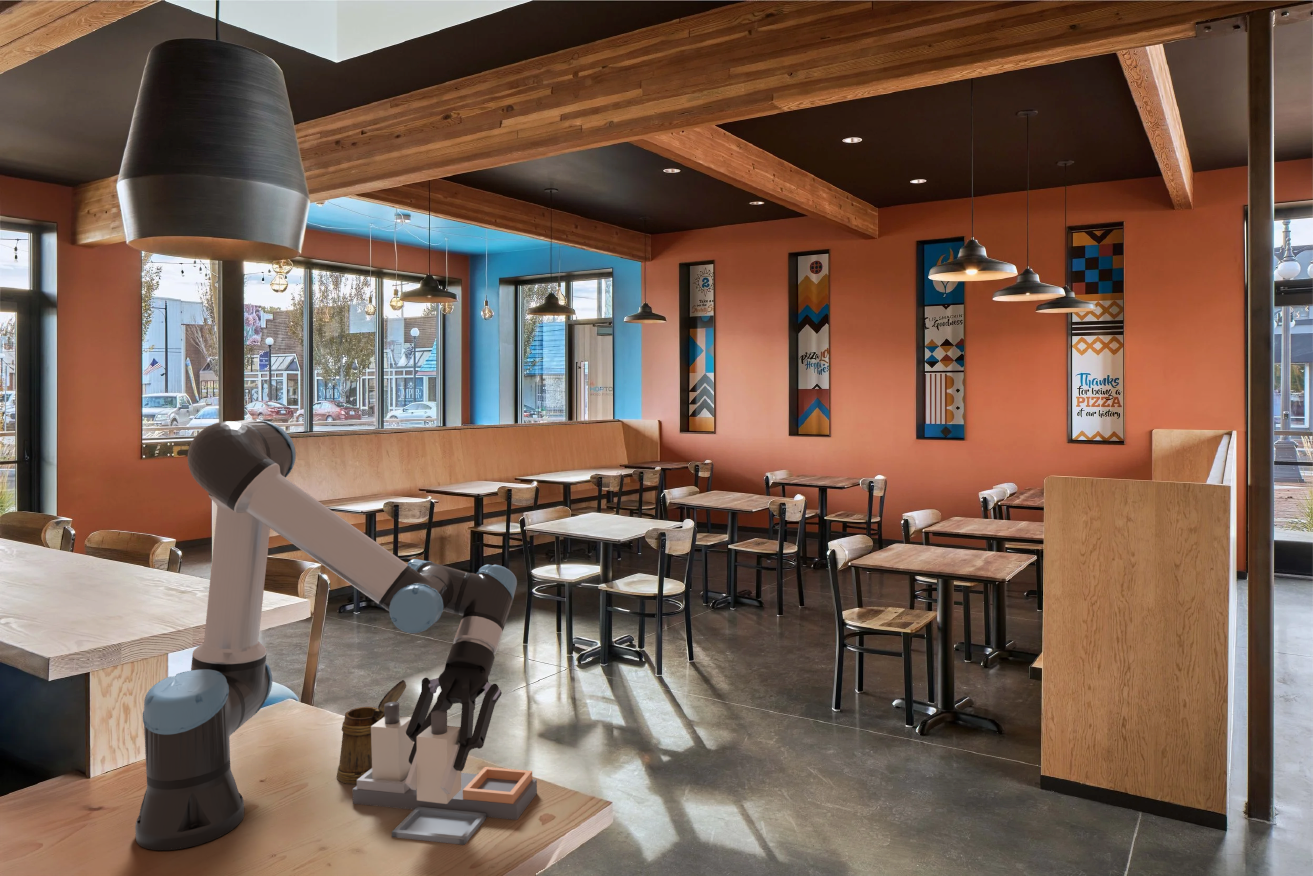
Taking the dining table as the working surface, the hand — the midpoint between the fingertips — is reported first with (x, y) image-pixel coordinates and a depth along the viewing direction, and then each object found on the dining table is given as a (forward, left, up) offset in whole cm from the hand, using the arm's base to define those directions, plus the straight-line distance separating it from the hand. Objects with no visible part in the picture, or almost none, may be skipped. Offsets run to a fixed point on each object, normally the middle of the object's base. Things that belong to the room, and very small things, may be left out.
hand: (427, 788), depth 126 cm
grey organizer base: (-4, +13, -9) cm, 16 cm away
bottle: (0, +4, -3) cm, 5 cm away
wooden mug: (-21, +20, -9) cm, 30 cm away
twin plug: (-13, +13, -6) cm, 19 cm away
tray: (0, +4, -9) cm, 9 cm away
